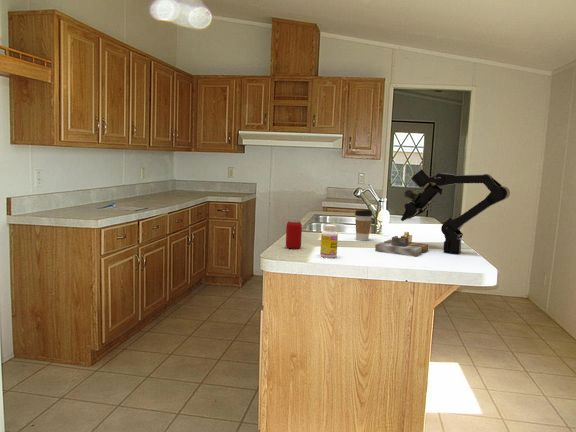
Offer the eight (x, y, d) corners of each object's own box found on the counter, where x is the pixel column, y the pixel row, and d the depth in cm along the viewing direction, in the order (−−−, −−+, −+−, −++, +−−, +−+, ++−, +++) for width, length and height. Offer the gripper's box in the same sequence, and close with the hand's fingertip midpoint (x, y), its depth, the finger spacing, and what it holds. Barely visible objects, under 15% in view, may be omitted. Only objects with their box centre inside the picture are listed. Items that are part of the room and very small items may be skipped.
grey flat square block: (428, 250, 221) (429, 236, 220) (415, 256, 205) (416, 241, 205) (389, 245, 230) (390, 232, 229) (375, 251, 215) (376, 236, 214)
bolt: (411, 241, 224) (412, 231, 223) (406, 243, 218) (407, 233, 217) (405, 240, 225) (406, 231, 225) (400, 242, 219) (400, 232, 219)
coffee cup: (371, 241, 241) (373, 211, 239) (354, 241, 241) (356, 210, 239) (369, 239, 249) (371, 209, 247) (352, 238, 249) (354, 209, 247)
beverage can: (301, 247, 219) (302, 220, 217) (300, 249, 212) (301, 222, 211) (286, 246, 219) (287, 219, 218) (284, 248, 213) (285, 221, 211)
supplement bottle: (330, 258, 194) (331, 226, 193) (317, 256, 198) (318, 224, 197) (340, 256, 199) (341, 225, 198) (326, 254, 204) (328, 223, 202)
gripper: (421, 182, 233) (399, 205, 240) (408, 184, 217) (385, 209, 224) (438, 198, 229) (416, 221, 236) (426, 201, 214) (402, 226, 220)
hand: (404, 219), depth 229 cm, fingers open, 9 cm apart
